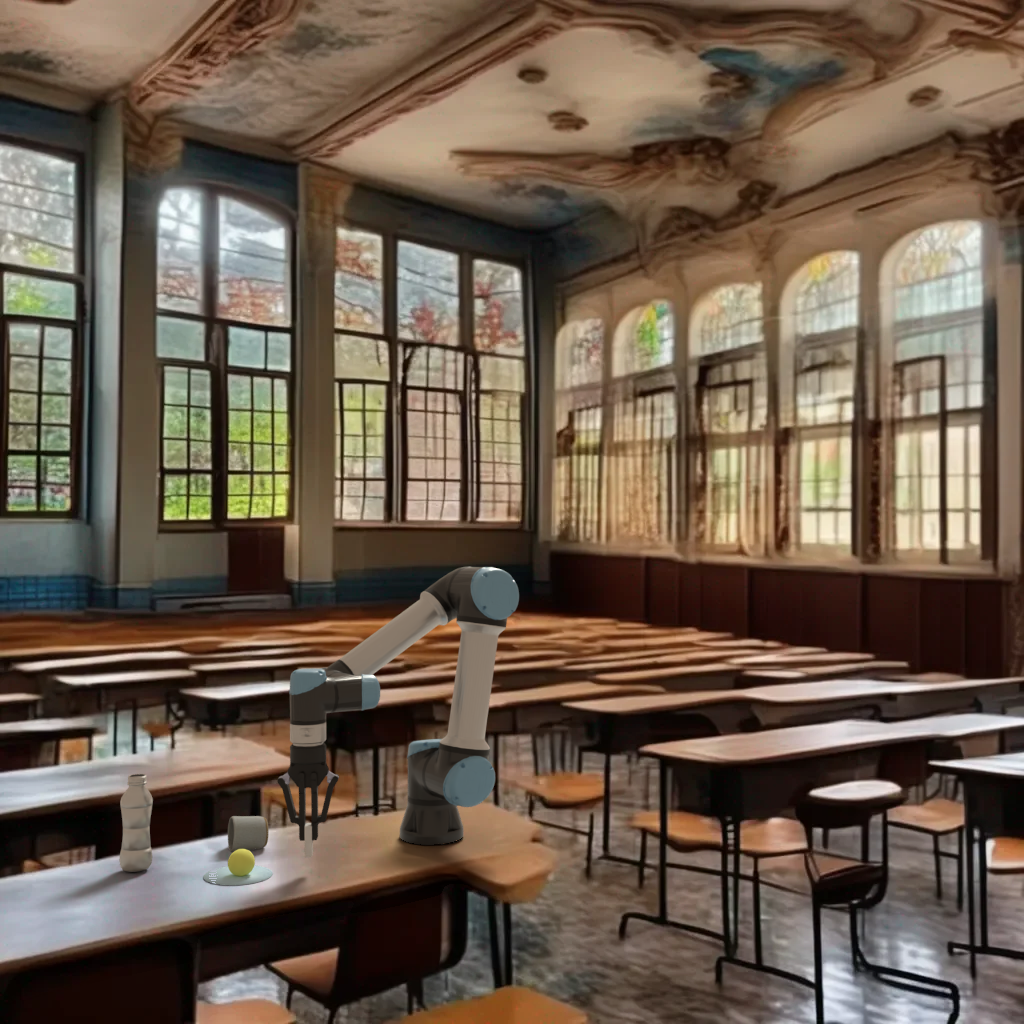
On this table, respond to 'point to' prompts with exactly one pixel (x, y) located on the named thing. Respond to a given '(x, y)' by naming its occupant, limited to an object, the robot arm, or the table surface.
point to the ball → (241, 862)
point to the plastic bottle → (136, 825)
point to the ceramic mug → (247, 832)
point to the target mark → (230, 879)
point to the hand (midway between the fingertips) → (308, 855)
